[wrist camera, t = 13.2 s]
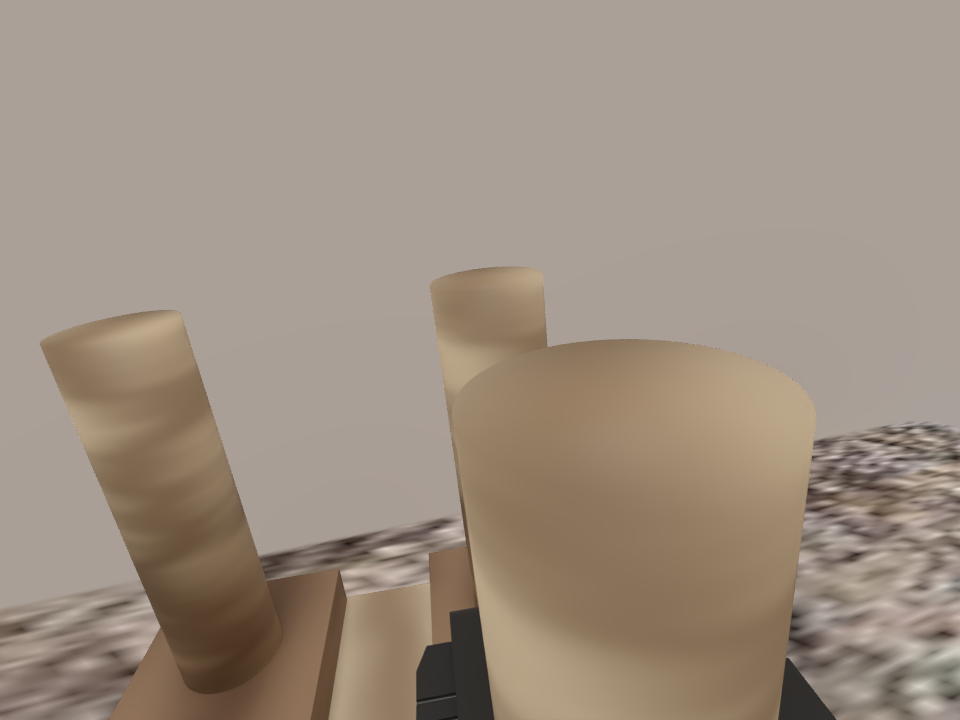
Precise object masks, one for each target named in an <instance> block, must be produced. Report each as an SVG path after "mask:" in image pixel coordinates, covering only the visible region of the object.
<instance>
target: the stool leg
mask: <svg viewBox="0 0 960 720" xmlns="http://www.w3.org/2000/svg"><path fill="white" fill-rule="evenodd" d="M452 419H453V426H454V433H455V440H456V448H457V455H458V462H459V469H460V476H461V483H462V490H463V498H464V505H465V512H466V519H467V526H468V533H469V541H470V548H471V555H472V562H473V569H474V576H475V583H476V591H477V598H478V605H479V612H480V619H481V626H482V633H483V641H484V648H485V655H486V662H487V669H488V676H489V683H490V691H491V698H492V705H493V712H494V719H495V720H778V716H779V708H780V700H781V692H782V685H783V677H784V669H785V661H786V653H787V645H788V638H789V630H790V622H791V614H792V606H793V599H794V591H795V583H796V575H797V567H798V559H799V552H800V544H801V536H802V528H803V520H804V513H805V505H806V497H807V489H808V481H809V473H810V466H811V458H812V450H813V442H814V434H815V426H816V411H815V407H814V405H813V403H812V401H811V399H810V397H809V396H808V395H807V393H806V392H805V391H804V389H803V388H801V387H800V386H799V385H798V384H797V383H796V382H794V381H793V380H792V379H791V378H789V377H788V376H786V375H784V374H783V373H781V372H780V371H778V370H776V369H774V368H772V367H770V366H768V365H766V364H763V363H761V362H758V361H756V360H753V359H751V358H748V357H745V356H742V355H738V354H736V353H732V352H728V351H724V350H720V349H716V348H711V347H706V346H701V345H695V344H688V343H681V342H671V341H660V340H638V339H620V340H598V341H586V342H576V343H570V344H563V345H557V346H552V347H547V348H542V349H538V350H534V351H530V352H527V353H524V354H521V355H517V356H514V357H512V358H509V359H506V360H504V361H501V362H499V363H497V364H495V365H493V366H491V367H489V368H487V369H486V370H484V371H482V372H480V373H479V374H477V375H476V376H475V377H473V378H472V379H471V380H469V381H468V382H467V383H466V384H465V385H464V386H463V387H462V389H461V390H460V392H459V393H458V394H457V396H456V398H455V401H454V403H453V408H452Z"/></svg>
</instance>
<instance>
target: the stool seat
mask: <svg viewBox="0 0 960 720" xmlns="http://www.w3.org/2000/svg"><path fill="white" fill-rule="evenodd" d="M430 291H431V298H432V305H433V312H434V319H435V326H436V334H437V340H438V347H439V355H440V362H441V368H442V375H443V382H444V390H445V396H446V404H447V410H448V418H449V425H450V432H451V439H452V446H453V453H454V460H455V466H456V474H457V481H458V488H459V495H460V502H461V509H462V516H463V523H464V530H465V537H466V544H467V547H463V548H458V549H452V550H446V551H440V552H434V553H429V570H430V583H426V584H420V585H414V586H409V587H403V588H397V589H391V590H386V591H380V592H374V593H369V594H363V595H357V596H351V597H346V594H345V590H344V586H343V582H342V578H341V574H340V570H339V569H334V570H328V571H322V572H317V573H311V574H305V575H299V576H293V577H287V578H281V579H275V580H270V581H266V579H265V575H264V572H263V569H262V566H261V563H260V560H259V557H258V554H257V550H256V548H255V544H254V541H253V538H252V535H251V532H250V529H249V526H248V522H247V519H246V516H245V513H244V510H243V507H242V504H241V500H240V497H239V494H238V491H237V488H236V485H235V482H234V478H233V475H232V473H231V469H230V466H229V463H228V460H227V457H226V454H225V450H224V447H223V444H222V441H221V438H220V435H219V432H218V428H217V426H216V423H215V419H214V416H213V413H212V410H211V407H210V404H209V401H208V397H207V394H206V391H205V388H204V385H203V382H202V378H201V375H200V372H199V369H198V366H197V363H196V360H195V357H194V353H193V350H192V347H191V344H190V341H189V338H188V335H187V332H186V328H185V326H184V322H183V319H182V316H181V313H180V312H178V311H173V310H159V311H149V312H140V313H134V314H127V315H122V316H117V317H112V318H107V319H103V320H98V321H94V322H90V323H86V324H83V325H79V326H76V327H73V328H69V329H67V330H63V331H61V332H58V333H55V334H53V335H51V336H49V337H47V338H45V339H43V340H42V341H41V342H40V346H41V348H42V351H43V353H44V355H45V358H46V360H47V362H48V364H49V367H50V369H51V371H52V373H53V376H54V379H55V381H56V383H57V385H58V388H59V390H60V393H61V395H62V397H63V400H64V402H65V404H66V406H67V409H68V411H69V414H70V416H71V418H72V421H73V423H74V425H75V428H76V430H77V432H78V435H79V437H80V439H81V441H82V444H83V446H84V449H85V451H86V453H87V455H88V458H89V460H90V463H91V465H92V467H93V470H94V472H95V474H96V477H97V479H98V481H99V483H100V486H101V488H102V491H103V493H104V495H105V497H106V500H107V502H108V505H109V507H110V509H111V512H112V514H113V516H114V519H115V521H116V523H117V526H118V528H119V530H120V533H121V535H122V537H123V540H124V542H125V544H126V547H127V549H128V551H129V554H130V556H131V559H132V561H133V563H134V566H135V568H136V570H137V573H138V575H139V577H140V580H141V582H142V584H143V587H144V589H145V591H146V594H147V596H148V598H149V601H150V603H151V605H152V608H153V610H154V612H155V615H156V617H157V619H158V622H159V624H160V626H161V628H160V630H159V631H158V633H157V635H156V637H155V638H154V640H153V642H152V644H151V646H150V647H149V649H148V651H147V653H146V655H145V656H144V658H143V660H142V662H141V664H140V665H139V667H138V669H137V671H136V673H135V674H134V676H133V678H132V680H131V681H130V683H129V685H128V687H127V689H126V690H125V692H124V694H123V696H122V698H121V699H120V701H119V703H118V705H117V707H116V708H115V710H114V712H113V714H112V715H111V717H110V719H109V720H416V706H417V702H416V671H417V668H418V666H419V663H420V661H421V658H422V656H423V653H424V651H425V648H426V646H429V645H434V644H439V643H445V642H450V641H452V640H451V628H450V614H449V613H450V612H452V611H457V610H463V609H468V608H474V607H479V605H478V598H477V591H476V583H475V576H474V569H473V562H472V555H471V548H470V541H469V533H468V526H467V519H466V512H465V505H464V498H463V490H462V483H461V476H460V469H459V462H458V455H457V448H456V440H455V433H454V426H453V419H452V408H453V403H454V401H455V398H456V396H457V394H458V393H459V392H460V390H461V389H462V387H463V386H464V385H465V384H466V383H467V382H468V381H469V380H471V379H472V378H473V377H475V376H476V375H477V374H479V373H480V372H482V371H484V370H486V369H487V368H489V367H491V366H493V365H495V364H497V363H499V362H501V361H504V360H506V359H509V358H512V357H514V356H517V355H521V354H524V353H527V352H530V351H534V350H538V349H542V348H547V334H546V318H545V303H544V287H543V273H542V272H541V271H540V270H538V269H534V268H528V267H491V268H482V269H474V270H468V271H463V272H458V273H454V274H450V275H446V276H443V277H441V278H438V279H436V280H434V281H433V282H431V284H430Z"/></svg>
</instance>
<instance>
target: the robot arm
mask: <svg viewBox="0 0 960 720" xmlns="http://www.w3.org/2000/svg"><path fill="white" fill-rule="evenodd" d="M449 614H450V628H451V640H452V641H450V642H445V643H439V644H434V645H429V646H426V648H425V651H424V653H423V656H422V658H421V661H420V663H419V666H418V668H417V671H416V702H417V706H416V720H495V719H494V712H493V705H492V698H491V691H490V683H489V676H488V669H487V662H486V655H485V648H484V641H483V633H482V626H481V619H480V612H479V607H474V608H468V609H463V610H457V611H452V612H450V613H449ZM778 720H836V719H835V717H834V716H833V715H832V713H831V712H830V711H829V710H828V708H827V707H826V706H825V704H824V703H823V702H822V701H821V699H820V698H819V697H818V695H817V694H816V693H815V692H814V690H813V689H812V688H811V686H810V685H809V684H808V683H807V681H806V680H805V679H804V677H803V676H802V675H801V674H800V672H799V671H798V670H797V668H796V667H795V666H794V664H793V663H792V662H791V661H790V659H789V658H786V661H785V669H784V677H783V685H782V692H781V700H780V708H779V716H778Z"/></svg>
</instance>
